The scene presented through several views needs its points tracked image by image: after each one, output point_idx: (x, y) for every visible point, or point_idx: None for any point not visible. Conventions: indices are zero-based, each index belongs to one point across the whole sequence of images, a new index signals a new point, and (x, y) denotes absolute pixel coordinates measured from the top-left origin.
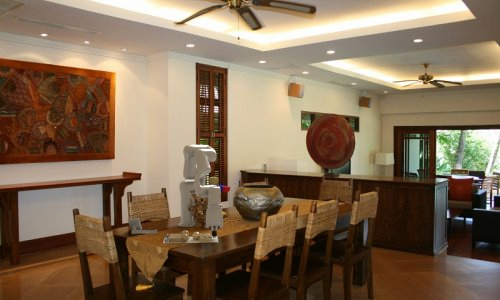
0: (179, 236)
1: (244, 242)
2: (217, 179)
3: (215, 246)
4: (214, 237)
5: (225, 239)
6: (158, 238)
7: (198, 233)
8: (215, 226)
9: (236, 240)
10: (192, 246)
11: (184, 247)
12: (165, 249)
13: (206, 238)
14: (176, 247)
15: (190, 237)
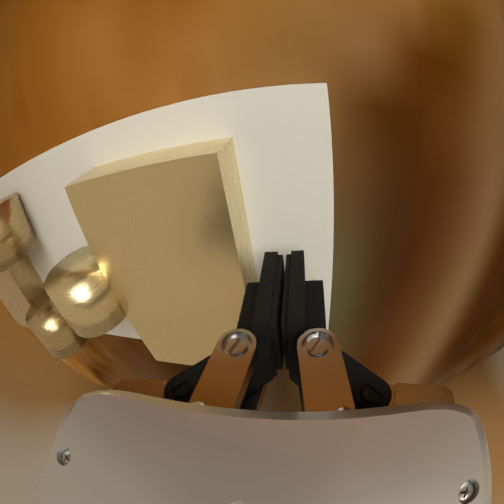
0: (19, 296)
1: (499, 324)
2: None
3: (296, 393)
4: (287, 168)
5: (421, 240)
6: None
7: (99, 329)
8: None
9: (489, 278)
10: (161, 376)
11: (133, 378)
12: (87, 375)
13: None
14: (102, 369)
15: (36, 191)
